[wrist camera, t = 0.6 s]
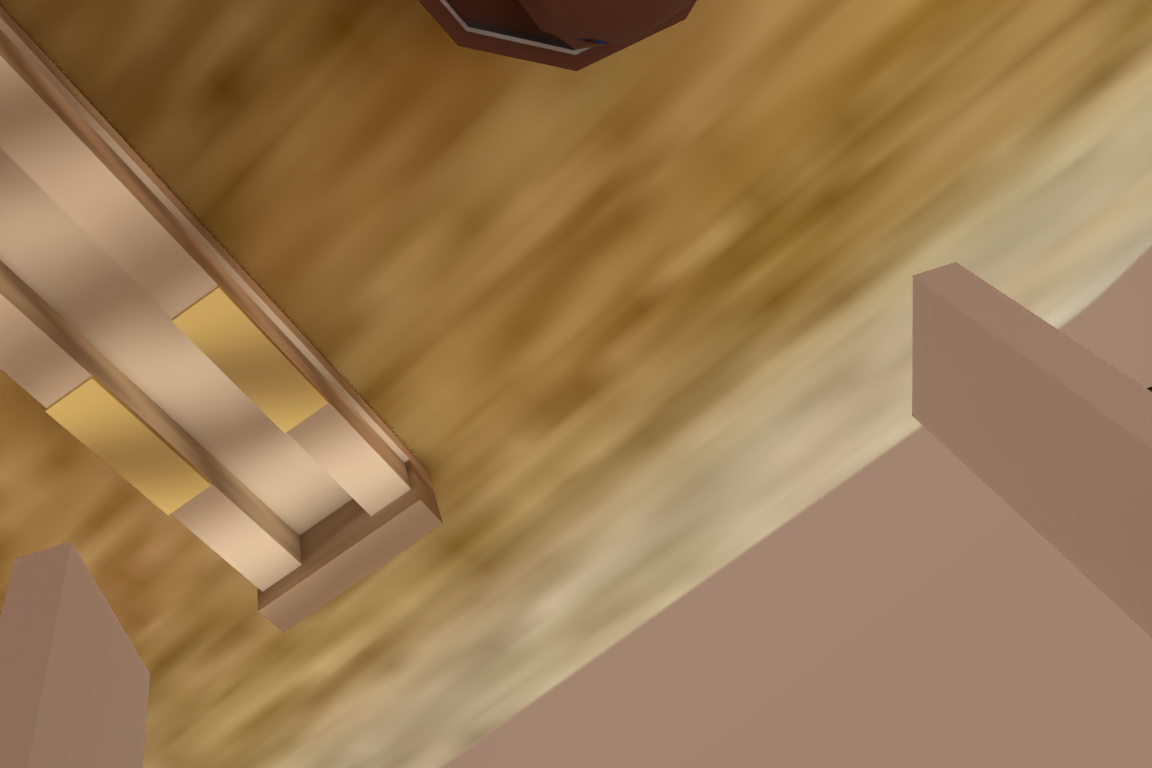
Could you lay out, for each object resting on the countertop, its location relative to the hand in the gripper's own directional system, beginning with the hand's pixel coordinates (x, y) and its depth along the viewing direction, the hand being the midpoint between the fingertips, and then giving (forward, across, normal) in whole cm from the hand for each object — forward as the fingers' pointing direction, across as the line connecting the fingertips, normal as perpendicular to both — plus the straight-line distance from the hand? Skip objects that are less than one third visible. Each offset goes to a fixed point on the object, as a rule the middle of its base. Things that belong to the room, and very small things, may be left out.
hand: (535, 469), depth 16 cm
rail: (+25, -11, -4) cm, 28 cm away
